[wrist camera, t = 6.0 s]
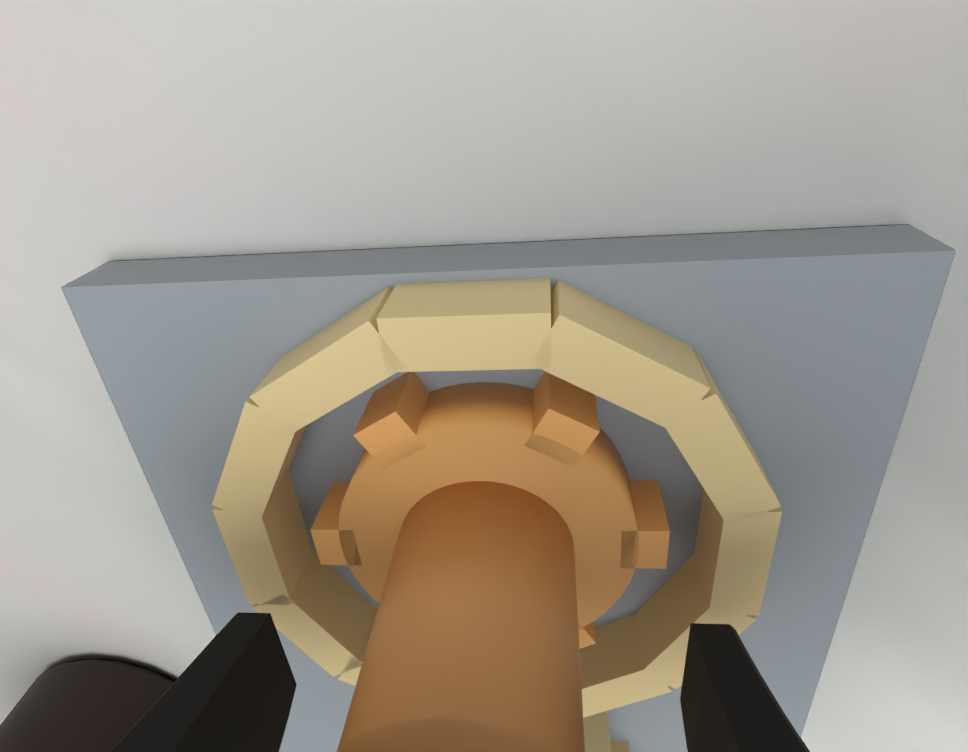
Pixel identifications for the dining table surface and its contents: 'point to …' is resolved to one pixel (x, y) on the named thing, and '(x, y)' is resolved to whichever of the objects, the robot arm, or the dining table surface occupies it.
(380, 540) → the planet gear
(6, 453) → the dining table surface
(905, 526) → the dining table surface
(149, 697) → the bottle
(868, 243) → the carrier plate
